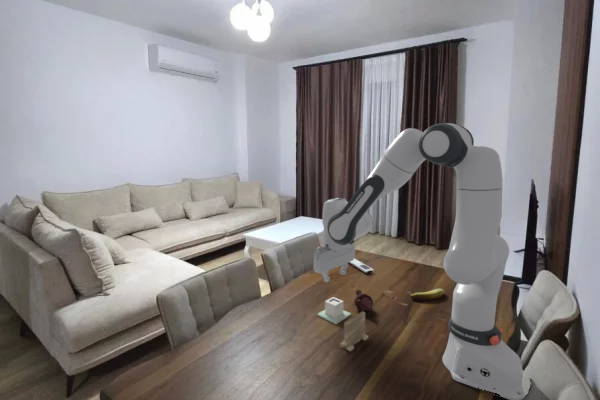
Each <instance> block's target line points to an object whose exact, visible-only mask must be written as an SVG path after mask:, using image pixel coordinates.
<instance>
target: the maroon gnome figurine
mask: <svg viewBox="0 0 600 400" xmlns="http://www.w3.org/2000/svg"><path fill="white" fill-rule="evenodd" d="M355 294H356V297H355V298H354V300H353V302H354V305H355V307H356V309H357V310H358V311H360V312H362V311H363V312H368V311H369V312H370V311H371V312H373V304H374V301H373V299H372V296H370V295H369V294H366V293H362V291H361V289H356V290H355Z"/></svg>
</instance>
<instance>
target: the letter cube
mask: <svg viewBox="0 0 600 400" xmlns="http://www.w3.org/2000/svg"><path fill="white" fill-rule="evenodd" d="M344 305H345V304H344V300H342V299H341V298H340V299H339V298H337V297H334V296H332V297H330V298H328V299H326V300H325V301H324V310H325V314H327V315H329V316H331V317H334V318H336V317H338V316H340V315H342V314H343V313H344V311H345V310H344V308H345V307H344Z"/></svg>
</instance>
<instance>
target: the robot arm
mask: <svg viewBox="0 0 600 400" xmlns="http://www.w3.org/2000/svg"><path fill="white" fill-rule="evenodd" d="M474 141H475V140H474V137H473V134H472V133H471V132H470V131H469V130H468V129H467V128H466V127H465V126H461V125H458V124H456V123H447V122H446V123H445V122H444V123H443V122H442V123H441V122H440V123H435V124H433V125H431V126H429V127H428V128H426V129H425V130H424V131H422V130H420V129H418V128H411V127H409V128H405V129H404V130H402V131H401V132H400V133H399V134H398V135H397V136H396V138H394V139H393V141H392V142H391V143H390V144H389V145H388V147H386V149H385V151H384V152H383V154H382V155H381V157H380V159H379V160H378V161H377V163H376V165H374V166H373V167H374V168H373V169H372V170H371V172H370V173H369V174H368V176H367V178H366V179H365V180H364V182H363V183H362V184H361V185H360V187H359V188H358V189H357V191H356V192H355V193H354V194H353V195H352V197H351V198H350V200H349V201H347V200H346V198H344V197H335V198H330V199H327V200H325V202H323V206H322V219H321V220H322V221H321V222H322V226H323V230H322V245H321V246H318V247H317V249H316V250H315V252H314V255H313V256H314V257H313V266H312V267H313V271H314V272H315V273H318V274H320V275H321V276H323V282H325V283H329V282H330V281H331V277H330V276H329V275H328V274H329V271H331V270H334V269H335V268H338V267H341V268H340V269H339V274H340V275H346V274H347V269H348V266H349V263H350V262H352V261H354V259H355V257H356V245H355V243H356V240H357V239H359V238H361V237H363V236H365V235H366V234H368V233H369V232H370V231H371V230H372V228H373V224H374V223H373V218H372V216H371V214H370V213H369V212H368V211H369V210H370V209H371V207H372V206H373V205H374V204H375V203H376V202H377V201H379V200H380V199H382V198H383V197H385V196H387V195H389V194H391V193H393V192H395V191H398V190H400V188H401V187H403V186H404V185H405V184H406V183H407V182H408V181H409V180H411V178H412V177H413V176H414V174H415V173H416V171H417V170H418V169H419V167H420V166H421V165H422V164H423V163H424V162H425V161H426V160H427V161H429V162H431V163H432V164H435V165H440V166H443V167H447V168H452V169H454V170H455V173H456V175H455V176H456V197H455V198H456V200H455V201H456V206H455V207H456V209H455V219H454V224H453V229H452V234H451V239H450V242H449V247H448V249H447V252H446V254H445V256H444V259H443V269H444V271H445V274H446V275H447V276H448V277H449V279H450V280H452V281H453V282H455V283H456V285H455V288H454V290H453V291H452V292H453V293H452V303H451V304H452V306H451V315H449V320H448V334H449V336H448V341H447V344H446V347H445V350H444V353H443V355H442V364H443V365H444V366H445V368H446V369H447V370H448V371H449V372H450V374H451V377H452V379H453V381H456V382H458V383H461V384H464V385H467V386H469V387H472V388H475V389H478V388H479V389H478V390H481V389H482V390H481V391H484V390H486V391H490V392H494V393H497V394H499V395H500V396H499V397H502V398H504V399H507V400H523V399H525V398H524V395H525V393H524V391H523V387H522V378H523V371H525V370H523V364H522V361H521V358H520V356H519V355H518V354H517V352H515V351H514V350H513V349H511V348H510V346H508V345H507V343H505V341H504V340H502V334H503V327H501V328H500V329H499V328H498V327H497V325H496V324H495V320H496V319H495V318H496V313H497V311H496V310H497V301H498V296H499V293H500V289H501V287H502V283H503V278H504V273H505V271H506V270H505V269H506V264H507V261H508V259H509V255H510V247H509V243H508V242H507V241H506V239H504V237H502V236H500V235H498V234H497V233H498V231H499V225H500V223H501V220H502V213H503V182H504V181H503V170H502V169H503V168H502V163H501V158H500V155H499V153H498V151H496V150H495V149H493V148H491V147H488V146H483V145H481V146H479V145H478V146H477V145H474ZM486 391H485V392H486Z"/></svg>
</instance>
